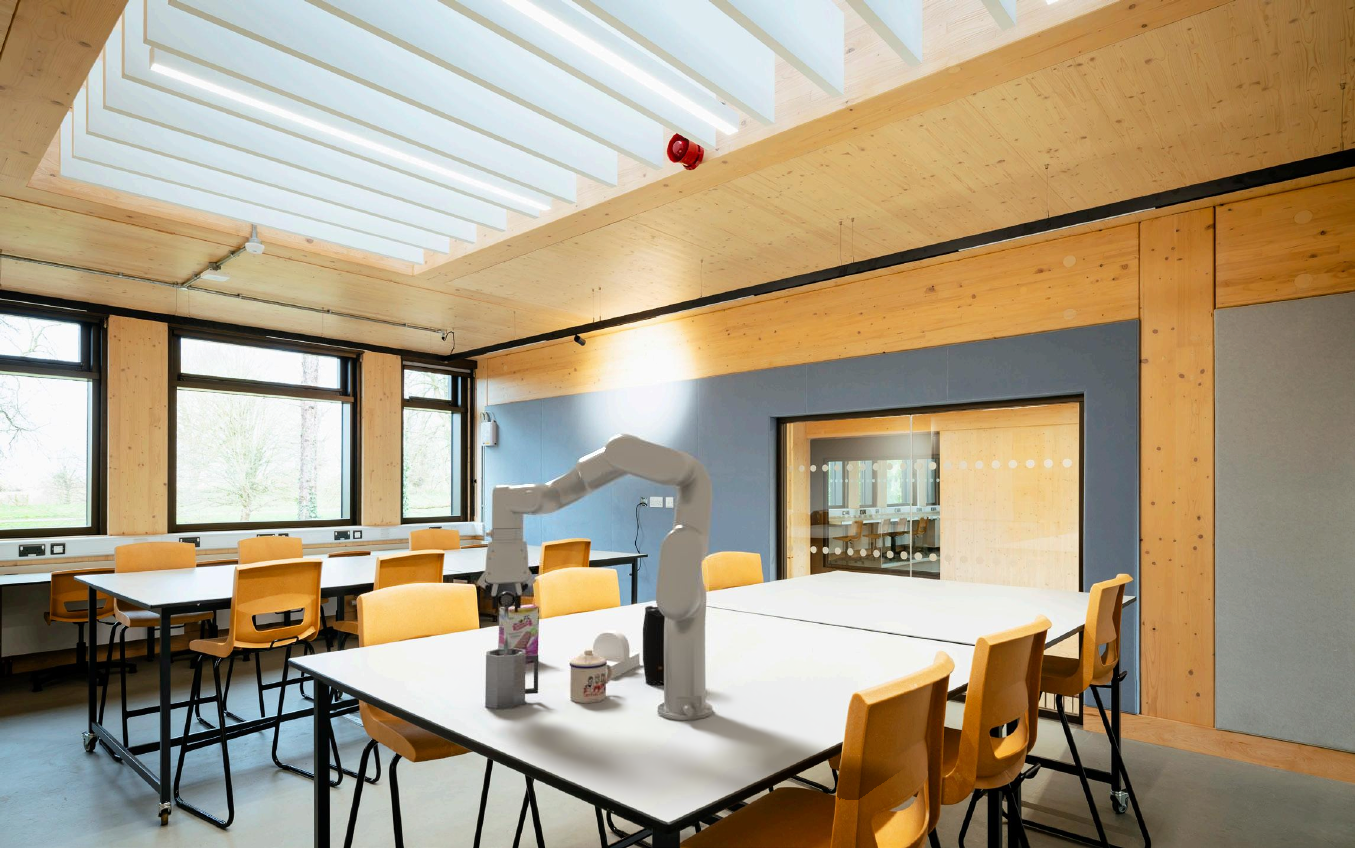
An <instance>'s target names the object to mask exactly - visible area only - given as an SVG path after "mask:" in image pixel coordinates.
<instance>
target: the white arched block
mask: <svg viewBox="0 0 1355 848" xmlns="http://www.w3.org/2000/svg"><path fill="white" fill-rule="evenodd" d="M630 650H631V649H630V643H629V641H628V638H627V637H626V636H625V634H624V633H622V632H621V631H618V630H615V629H614V630H612V629H611V630H608V631H605V632H603V633H600V634H599V635H598V636H596V638H595V640H594V642H593V646H592V653H593V654H596V655H597V656H599V657H602V658H604V659H606V662H607V664H608V665H610V666H611V668H612V676H611V679H610V680H612V678H613V677H615V678H617V677H619V676H620V675H619V674H621V675H623V674H625V673H627V672H628V671H627V670H629V671H631V670H632V668H633V667H635V668H637V667H639V666H640V652H638V651H632V652H630ZM636 666H637V667H636ZM630 669H631V670H630ZM633 669H634V668H633ZM624 672H625V673H624ZM622 673H623V674H622ZM607 674H608V669H607V667H606V677H607ZM618 675H619V676H618ZM616 676H617V677H616ZM613 679H614V678H613Z"/></svg>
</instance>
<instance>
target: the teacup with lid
mask: <svg viewBox="0 0 1355 848" xmlns="http://www.w3.org/2000/svg"><path fill="white" fill-rule="evenodd" d="M583 652H584V653H581V654H579V656H577V657H574V658H572V659H571V660H570V661H569V666H570V681H569V682H570V684H569V685H570V693H569V694H570V696H569V697H570V700H571V701H572V702H575V703H579V704H593V702H594V703H598V702H602V701H604V700H605V699H606V697H607V687H606V686H607V684H609V682H610V681H611V680H612V679H611V676H612V668H611V666H610V665H608V664H607V662H606V659H604V658H602V657H599V656H597V655H596V654H593V649H589V648H588V649H584V651H583ZM606 667H607V669H608V674H607V677H606ZM601 700H602V701H601Z"/></svg>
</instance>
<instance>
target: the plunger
mask: <svg viewBox="0 0 1355 848" xmlns="http://www.w3.org/2000/svg"><path fill="white" fill-rule="evenodd" d="M514 605H515V594H514V593H513V592H511V591H509V590H506V591H503V592H501V593H500V594H499V595H498V606H500V608H502V607H503V608H504V655H500V656H508V619H509V607H512V606H514Z"/></svg>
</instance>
